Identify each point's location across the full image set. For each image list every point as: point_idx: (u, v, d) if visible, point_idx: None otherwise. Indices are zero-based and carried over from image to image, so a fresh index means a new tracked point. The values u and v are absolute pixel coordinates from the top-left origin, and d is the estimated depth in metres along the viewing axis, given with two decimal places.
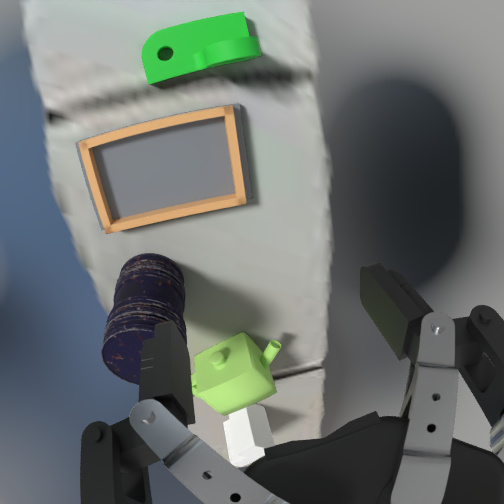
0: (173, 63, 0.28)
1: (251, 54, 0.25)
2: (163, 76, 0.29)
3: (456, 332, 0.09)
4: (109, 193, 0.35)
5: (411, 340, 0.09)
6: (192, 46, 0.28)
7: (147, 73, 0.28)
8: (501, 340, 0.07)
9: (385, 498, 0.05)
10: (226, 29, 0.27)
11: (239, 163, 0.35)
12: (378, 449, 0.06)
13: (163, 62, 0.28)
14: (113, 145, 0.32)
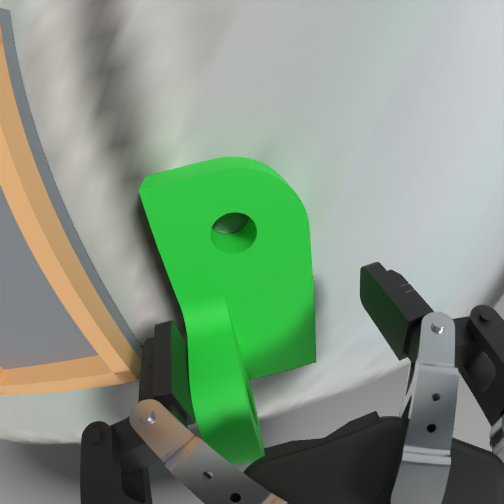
0: (200, 255, 0.12)
1: None
2: (162, 231, 0.11)
3: (456, 332, 0.09)
4: None
5: (411, 340, 0.09)
6: (246, 294, 0.14)
7: (174, 186, 0.11)
8: (501, 340, 0.07)
9: (385, 498, 0.05)
10: (281, 346, 0.16)
11: (44, 391, 0.14)
12: (378, 449, 0.06)
13: (205, 230, 0.12)
14: None
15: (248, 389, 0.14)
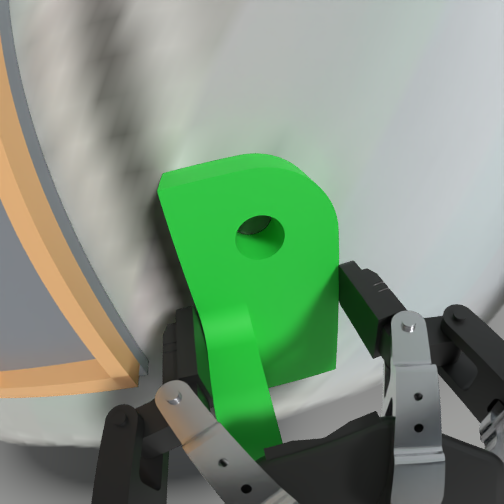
0: (223, 261, 0.11)
1: None
2: (182, 235, 0.11)
3: (428, 331, 0.09)
4: None
5: (383, 338, 0.10)
6: (269, 302, 0.13)
7: (197, 186, 0.10)
8: (479, 338, 0.07)
9: (385, 498, 0.05)
10: (302, 354, 0.15)
11: (39, 395, 0.13)
12: (378, 449, 0.06)
13: (230, 234, 0.11)
14: None
15: None
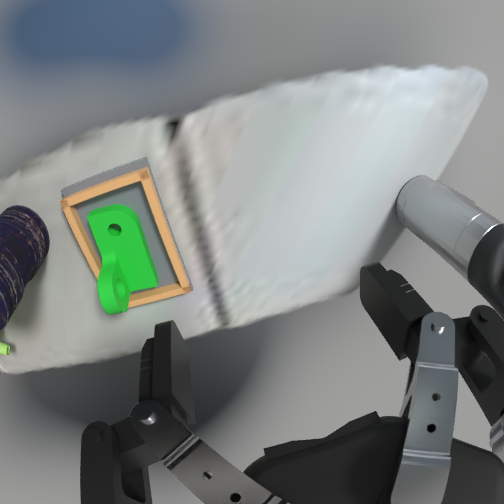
0: (105, 237, 0.36)
1: (108, 313, 0.35)
2: (94, 229, 0.35)
3: (456, 332, 0.09)
4: (97, 197, 0.35)
5: (411, 340, 0.09)
6: (121, 251, 0.37)
7: (96, 215, 0.34)
8: (501, 340, 0.07)
9: (385, 498, 0.05)
10: (139, 275, 0.39)
11: (145, 302, 0.42)
12: (378, 449, 0.06)
13: (106, 229, 0.35)
14: (144, 198, 0.36)
15: (124, 289, 0.38)
